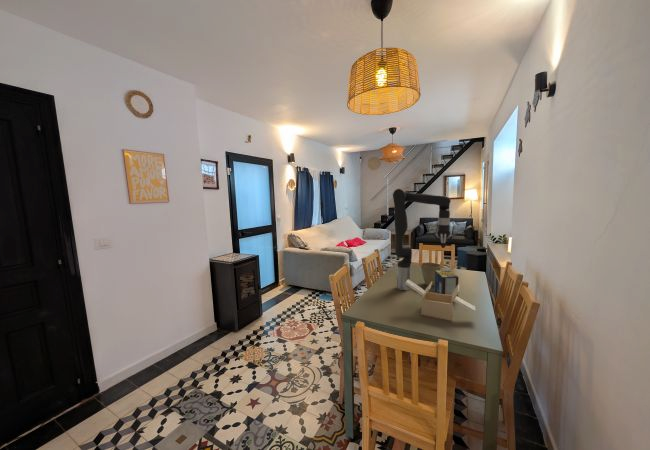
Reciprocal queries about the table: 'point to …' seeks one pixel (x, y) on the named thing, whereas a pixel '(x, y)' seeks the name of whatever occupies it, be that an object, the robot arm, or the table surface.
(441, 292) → the protein box
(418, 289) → the flap left
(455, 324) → the table surface
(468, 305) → the flap right
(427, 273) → the plant pot
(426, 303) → the carton
